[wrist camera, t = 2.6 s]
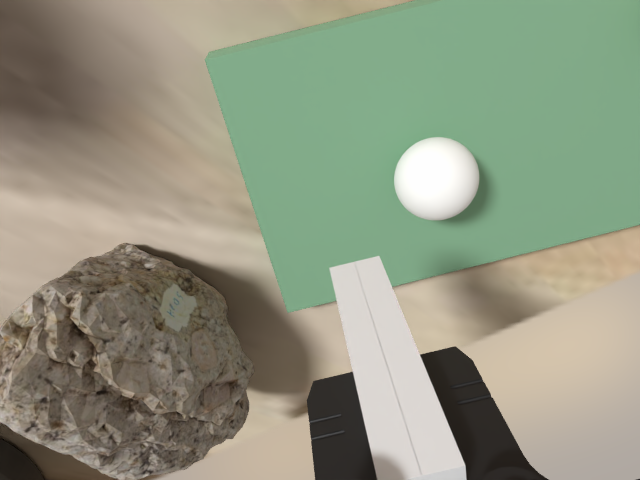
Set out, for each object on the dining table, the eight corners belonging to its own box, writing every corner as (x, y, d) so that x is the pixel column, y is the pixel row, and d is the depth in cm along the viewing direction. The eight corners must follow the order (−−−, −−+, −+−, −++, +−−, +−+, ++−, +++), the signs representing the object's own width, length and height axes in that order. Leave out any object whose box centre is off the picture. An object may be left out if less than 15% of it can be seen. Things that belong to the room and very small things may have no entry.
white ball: (390, 206, 22) (412, 244, 19) (380, 137, 20) (402, 166, 17) (461, 189, 22) (494, 223, 19) (457, 117, 20) (494, 143, 17)
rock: (341, 403, 22) (231, 532, 22) (256, 297, 30) (174, 391, 30) (88, 265, 13) (-103, 479, 13) (62, 166, 21) (-57, 298, 21)
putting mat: (285, 290, 26) (290, 338, 23) (209, 52, 19) (199, 69, 16) (763, 170, 26) (840, 201, 22) (854, -110, 19) (985, -128, 16)
